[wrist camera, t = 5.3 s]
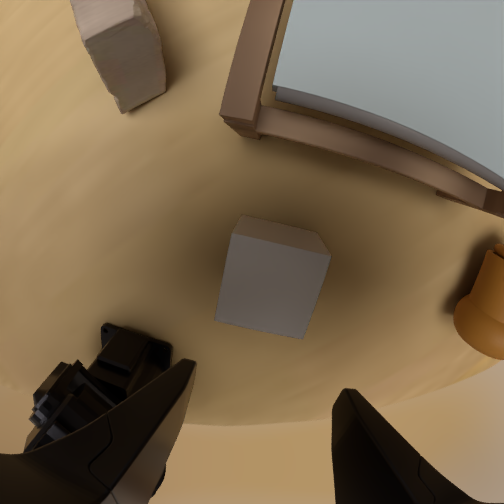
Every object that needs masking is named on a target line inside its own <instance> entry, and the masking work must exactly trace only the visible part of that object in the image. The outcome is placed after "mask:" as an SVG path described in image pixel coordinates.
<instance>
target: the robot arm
mask: <svg viewBox="0 0 504 504" xmlns="http://www.w3.org/2000/svg"><path fill="white" fill-rule="evenodd" d="M105 328H106V329H107V330H108V331H107V330H106V329H105ZM101 340H102V350H101V351H100V353H99V354H98V355H97V358H96V359H95V360H94V362H93V363H92V364H91V365H90V367H89V368H88V369H87V370H86V369H85V368H84V367H83V366H82V365H83V364H82V363H81V362H80V361H79V360H78V359H77V360H76V361H75V362H74V363H73V364H72V365H71V364H66V363H64V362H61V363H60V364H59V365H58V366H57V367H56V368H55V369H54V371H53V372H52V373H51V374H50V375H49V376H48V377H47V379H46V380H45V381H44V382H43V383H42V384H41V386H40V387H39V388H38V389H37V390H36V392H35V393H34V394H33V399H34V407H33V409H32V410H33V413H32V414H31V416H30V418H29V420H30V421H31V422H32V423H33V424H34V425H35V427H34V428H33V430H32V431H31V432H30V434H29V435H28V437H27V439H26V443H25V447H24V452H23V453H21V454H1V453H0V504H148V502H149V500H150V498H151V497H153V496H154V495H155V493H156V491H157V490H158V488H159V487H160V485H161V484H162V482H163V480H164V476H165V472H166V462H167V459H168V457H169V455H170V452H171V450H172V448H173V446H174V443H175V441H176V439H177V437H178V434H179V432H180V429H181V427H182V424H183V421H184V417H185V414H186V410H187V406H188V403H189V399H190V396H191V392H192V389H193V385H194V380H195V373H196V366H197V363H196V361H193V360H190V359H186V358H183V359H182V360H180V361H179V362H177V363H176V364H175V365H173V366H172V367H171V361H172V350H173V349H172V346H171V345H170V344H168V343H166V342H162V341H159V340H156V339H152V338H149V337H146V336H143V335H139V334H136V333H133V332H130V331H127V330H124V329H121V328H118V327H115V326H113V325H110V324H106V323H105V324H103V326H102V327H101ZM164 348H166V349H168V350H166V349H164ZM331 445H332V448H331V449H332V463H333V474H334V487H335V500H336V504H504V503H484V502H480V501H477V500H475V499H473V498H471V497H470V496H468V495H467V494H466V493H464V492H463V491H462V490H460V489H459V488H458V487H457V486H455V485H454V484H453V483H451V482H450V481H449V480H448V479H446V478H445V477H444V476H443V475H442V474H440V473H439V472H438V471H437V470H436V469H435V468H434V467H433V466H432V465H431V464H429V463H428V462H427V461H426V460H425V459H424V458H423V457H422V456H420V454H419V453H418V452H417V451H416V450H415V449H414V448H413V447H412V446H411V445H410V444H409V443H408V442H407V441H406V440H405V439H404V438H403V437H402V436H401V435H400V434H399V433H398V432H397V431H396V430H395V429H394V428H393V427H392V426H391V425H390V424H389V423H388V422H387V421H386V420H385V418H384V417H383V416H382V415H381V414H380V413H379V412H378V411H377V410H376V409H375V408H374V407H373V406H372V405H371V404H370V403H369V402H368V401H367V400H366V399H365V398H364V397H363V396H362V395H361V394H360V393H359V392H358V391H357V390H356V389H350V388H345V389H343V390H342V391H341V393H340V395H339V396H338V398H337V400H336V402H335V403H334V405H333V408H332V443H331Z"/></svg>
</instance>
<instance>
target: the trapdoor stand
mask: <svg viewBox="0 0 504 504" xmlns="http://www.w3.org/2000/svg"><path fill="white" fill-rule="evenodd" d="M284 4H285V0H251V1H250V4H249V7H248V10H247V13H246V17H245V20H244V23H243V27H242V30H241V33H240V37H239V40H238V44H237V47H236V51H235V54H234V58H233V62H232V65H231V69H230V73H229V77H228V80H227V84H226V88H225V92H224V96H223V100H222V104H221V109H220V113H219V115H220V116H221V117H222V118H223V119H224V122H225V123H226V124H227V125H228V126H230V127H231V128H232V129H233V130H234V131H236V132H237V133H238V134H239V135H240V136H244V137H249V138H254V139H258V140H260V137H261V134H264V135H269V136H273V137H277V138H282V139H286V140H290V141H294V142H298V143H302V144H306V145H309V146H313V147H317V148H320V149H324V150H327V151H331V152H334V153H338V154H341V155H344V156H348V157H351V158H354V159H357V160H360V161H363V162H366V163H369V164H372V165H375V166H378V167H381V168H384V169H386V170H389V171H392V172H395V173H397V174H400V175H403V176H405V177H408V178H411V179H413V180H416V181H418V182H421V183H423V184H426V185H428V186H430V187H433V188H435V189H437V193H436V195H438V196H440V197H443V198H445V199H447V200H450V201H454V202H457V203H460V204H463V205H466V206H469V207H473V208H476V209H479V210H482V211H484V212H487V213H490V214H493V215H496V216H499V217H501V218H504V191H503V190H502V192H500V191H496V190H492V189H488V188H486V187H484V186H482V185H480V184H479V183H477V182H475V181H473V180H471V179H469V178H467V177H466V176H464V175H462V174H460V173H458V172H456V171H454V170H452V169H450V168H448V167H445V166H443V165H441V164H439V163H437V162H435V161H433V160H430V159H428V158H426V157H424V156H421V155H419V154H417V153H414V152H412V151H410V150H407V149H405V148H402V147H400V146H397V145H395V144H392V143H390V142H387V141H384V140H382V139H379V138H376V137H373V136H371V135H368V134H365V133H362V132H359V131H356V130H353V129H350V128H347V127H344V126H340V125H337V124H334V123H331V122H327V121H324V120H320V119H317V118H313V117H309V116H305V115H302V114H298V113H294V112H290V111H285V110H281V109H277V108H272V107H267V106H263V105H261V101H260V98H261V94H262V90H263V85H264V81H265V77H266V73H267V69H268V65H269V61H270V57H271V53H272V49H273V46H274V42H275V38H276V34H277V30H278V26H279V23H280V19H281V15H282V11H283V8H284Z"/></svg>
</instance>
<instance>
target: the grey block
mask: <svg viewBox="0 0 504 504" xmlns="http://www.w3.org/2000/svg"><path fill="white" fill-rule="evenodd" d="M70 2H71V6H72V9H73V12H74V17H75V21H76V24H77V27H78V29H79V32H80V35H81V39H82V41H83V44H84V46H85V48H86V49H87V51H88V53H89V54H90V56H91V59H92V61H93V63H94V65H95V67H96V69H97V71H98V73H99V75H100V77H101V79H102V81H103V82H104V84H105V86H106V88H107V90H108V92H110V93H111V94H112V95H114V99H115V101H116V104H117V106H118V108H119V110H120V112H121V114H124V113H126V112H127V111H129V110H131V109H133V108H135V107H137V106H138V105H140V104H142V103H144V102H146V101H148V100H150V99H152V98H154V97H156V96H158V95H160V94H162V93H164V92H166V91H165V89H166V82H165V80H166V70H165V63H164V59H163V52H162V42H161V38H160V35H159V32H158V29H157V26H156V23H155V21H154V19H153V17H152V15H151V13H150V11H149V10H148V6H147V3H146V1H145V0H70Z"/></svg>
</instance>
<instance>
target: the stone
mask: <svg viewBox="0 0 504 504" xmlns="http://www.w3.org/2000/svg"><path fill="white" fill-rule="evenodd" d="M331 257H332V256H331V255H330V253H329V251H328V250H327V248H326V246H325V245H324V243H323V241H322V240H321V238H320V237H319V235H318V233H317V232H313V231H309V230H305V229H301V228H297V227H293V226H289V225H285V224H280V223H276V222H272V221H268V220H263V219H259V218H255V217H250V216H246V215H241V217H240V219H239V220H238V222H237V224H236V226H235V228H234V230H233V232H232V234H231V239H230V244H229V249H228V253H227V258H226V263H225V268H224V273H223V278H222V283H221V288H220V293H219V298H218V304H217V309H216V314H215V319H214V321H218V322H222V323H226V324H231V325H235V326H239V327H244V328H248V329H253V330H258V331H262V332H267V333H272V334H277V335H282V336H287V337H292V338H298V339H303V338H304V335H305V333H306V330H307V327H308V325H309V322H310V319H311V316H312V313H313V311H314V308H315V305H316V302H317V299H318V296H319V293H320V290H321V287H322V285H323V282H324V278H325V275H326V272H327V269H328V266H329V263H330V260H331Z"/></svg>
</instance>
